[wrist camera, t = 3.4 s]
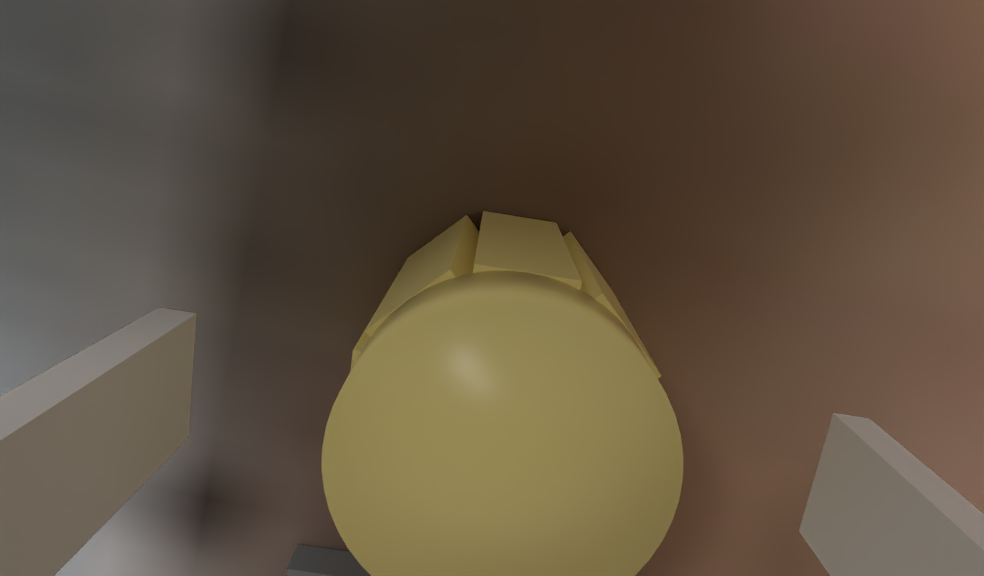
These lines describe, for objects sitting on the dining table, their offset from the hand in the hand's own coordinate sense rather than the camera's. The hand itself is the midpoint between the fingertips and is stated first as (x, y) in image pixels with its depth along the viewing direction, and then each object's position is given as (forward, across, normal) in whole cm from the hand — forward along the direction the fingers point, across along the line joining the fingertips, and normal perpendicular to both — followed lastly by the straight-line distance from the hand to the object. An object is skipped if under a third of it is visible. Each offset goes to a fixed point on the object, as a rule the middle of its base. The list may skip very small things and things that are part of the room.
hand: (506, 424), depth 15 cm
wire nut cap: (+6, 0, 0) cm, 6 cm away
